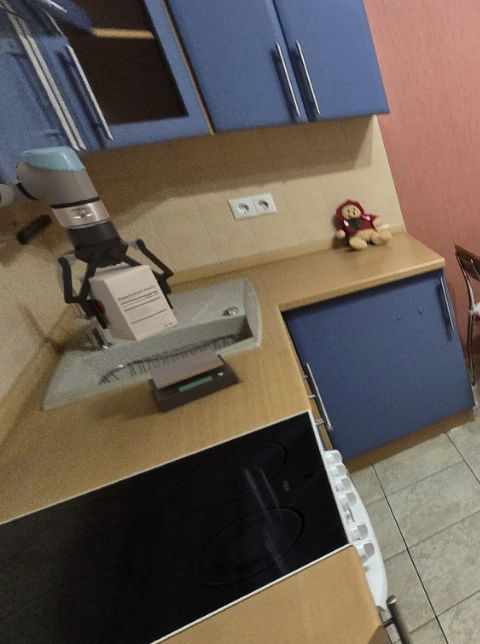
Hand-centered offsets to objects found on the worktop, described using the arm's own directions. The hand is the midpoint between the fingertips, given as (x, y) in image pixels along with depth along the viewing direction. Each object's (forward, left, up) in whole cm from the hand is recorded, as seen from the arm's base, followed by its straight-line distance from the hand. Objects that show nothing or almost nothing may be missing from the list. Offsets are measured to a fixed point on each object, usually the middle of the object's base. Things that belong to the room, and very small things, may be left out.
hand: (138, 317), depth 120 cm
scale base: (-1, +3, -21) cm, 21 cm away
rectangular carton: (0, 0, -4) cm, 4 cm away
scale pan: (-2, +3, -16) cm, 17 cm away
